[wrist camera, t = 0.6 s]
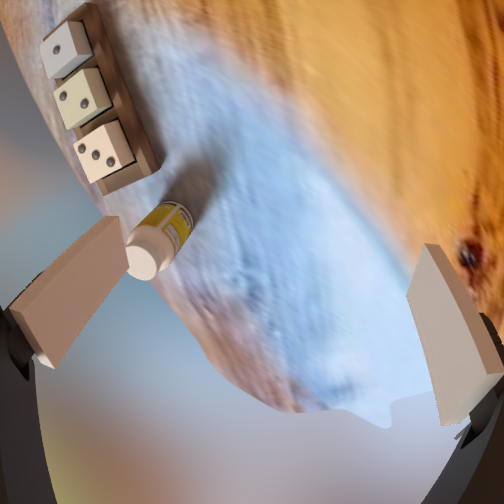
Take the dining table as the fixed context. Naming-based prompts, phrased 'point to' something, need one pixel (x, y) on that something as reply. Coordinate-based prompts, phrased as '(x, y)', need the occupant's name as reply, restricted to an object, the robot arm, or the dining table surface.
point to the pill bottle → (158, 239)
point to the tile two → (82, 97)
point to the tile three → (103, 151)
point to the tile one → (65, 49)
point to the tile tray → (119, 97)
